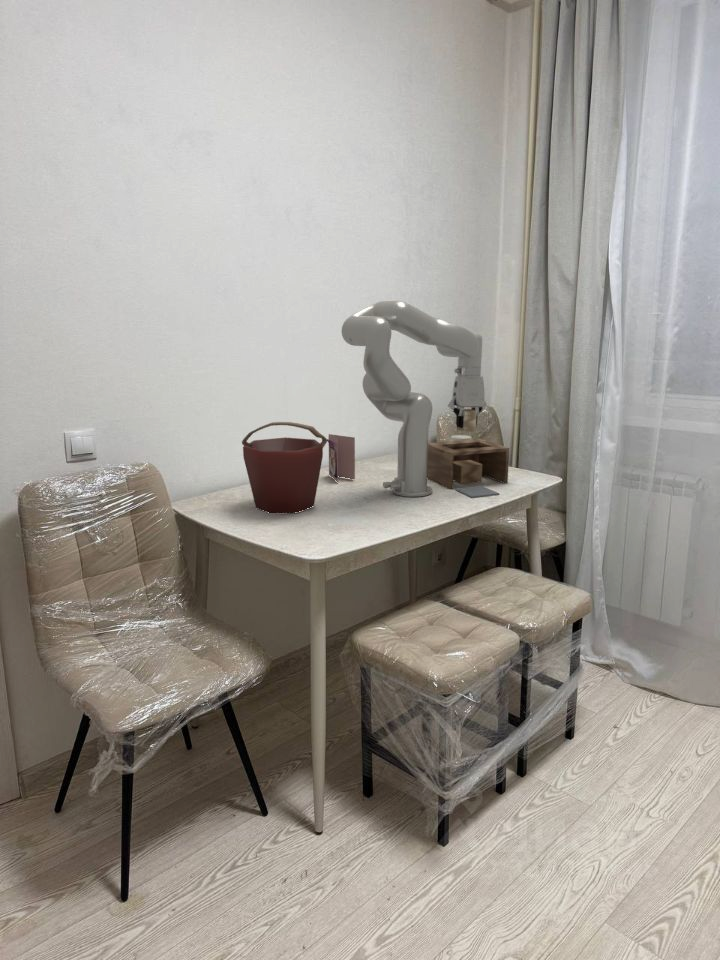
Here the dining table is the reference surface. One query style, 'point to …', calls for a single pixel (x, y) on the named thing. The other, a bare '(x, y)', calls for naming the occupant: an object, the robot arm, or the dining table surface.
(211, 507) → the dining table surface
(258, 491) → the bucket
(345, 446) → the greeting card
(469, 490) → the slate mat
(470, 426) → the birch block
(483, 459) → the slot box
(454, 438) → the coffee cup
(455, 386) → the robot arm
